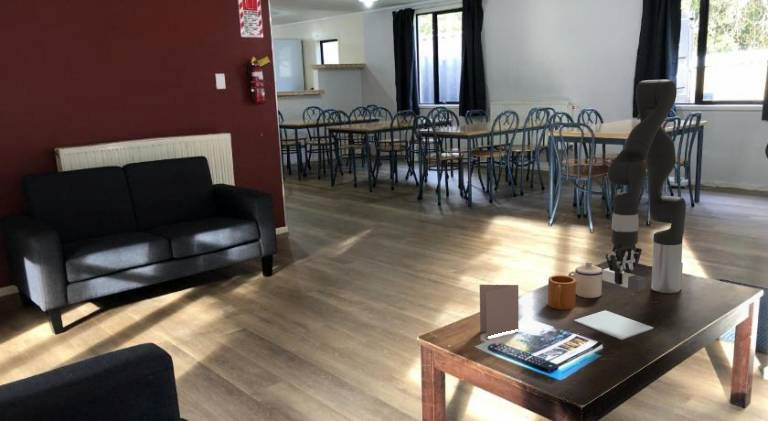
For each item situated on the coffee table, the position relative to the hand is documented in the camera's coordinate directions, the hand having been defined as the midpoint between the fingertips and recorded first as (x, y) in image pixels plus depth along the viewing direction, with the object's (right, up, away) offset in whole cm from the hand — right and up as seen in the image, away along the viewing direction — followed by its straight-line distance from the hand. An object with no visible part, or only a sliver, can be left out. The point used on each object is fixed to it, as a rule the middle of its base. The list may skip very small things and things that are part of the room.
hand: (622, 282), depth 193 cm
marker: (0, -1, 0) cm, 0 cm away
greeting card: (-38, -16, -4) cm, 42 cm away
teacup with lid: (-3, -7, +29) cm, 30 cm away
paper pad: (-3, -13, +1) cm, 13 cm away
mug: (-14, -10, +18) cm, 25 cm away
